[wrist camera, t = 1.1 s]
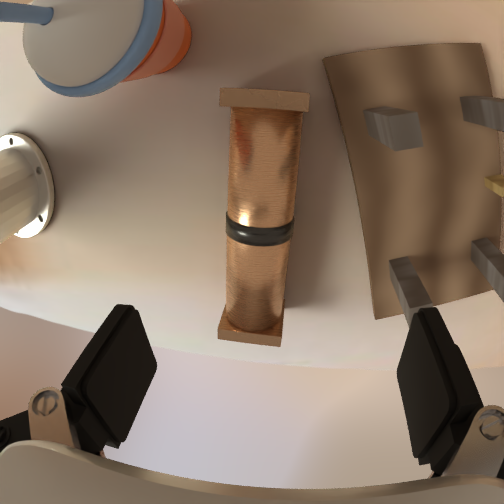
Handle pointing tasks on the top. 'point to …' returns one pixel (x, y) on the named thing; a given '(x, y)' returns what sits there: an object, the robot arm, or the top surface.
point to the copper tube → (260, 209)
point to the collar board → (423, 171)
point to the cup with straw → (99, 41)
